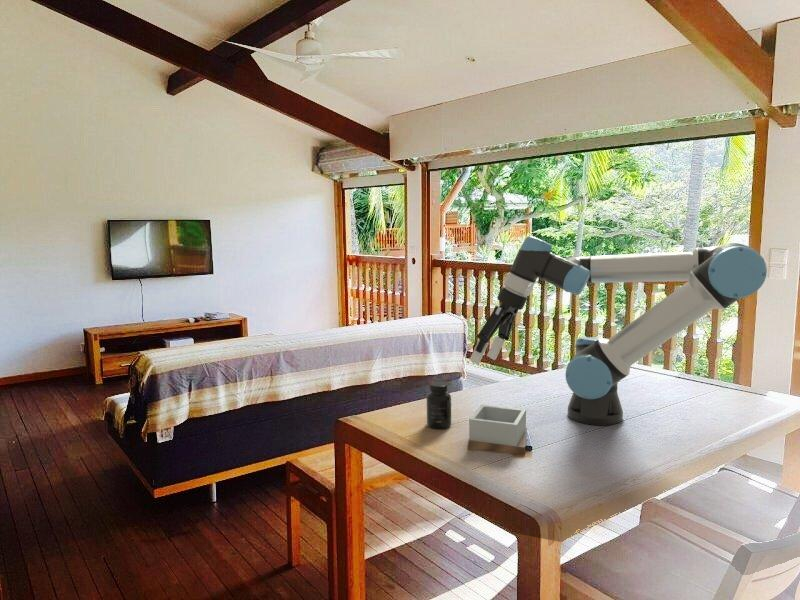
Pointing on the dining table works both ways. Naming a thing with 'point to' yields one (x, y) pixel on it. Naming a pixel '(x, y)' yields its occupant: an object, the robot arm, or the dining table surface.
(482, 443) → the walnut plinth
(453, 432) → the dining table surface
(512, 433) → the grey square open box
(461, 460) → the dining table surface
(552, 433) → the dining table surface
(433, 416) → the supplement bottle
